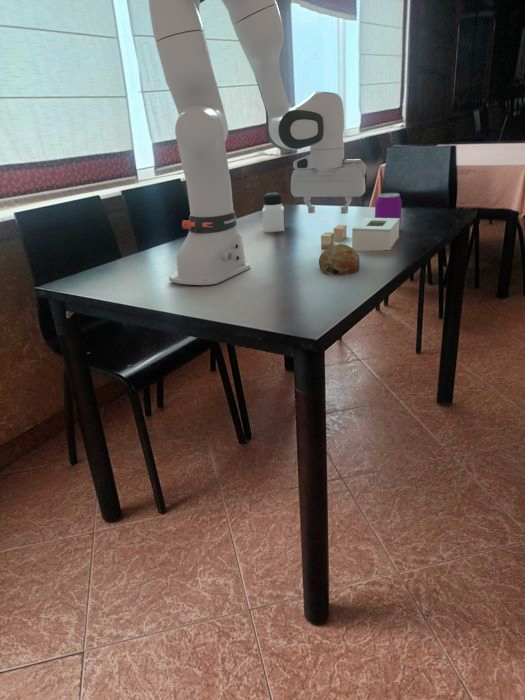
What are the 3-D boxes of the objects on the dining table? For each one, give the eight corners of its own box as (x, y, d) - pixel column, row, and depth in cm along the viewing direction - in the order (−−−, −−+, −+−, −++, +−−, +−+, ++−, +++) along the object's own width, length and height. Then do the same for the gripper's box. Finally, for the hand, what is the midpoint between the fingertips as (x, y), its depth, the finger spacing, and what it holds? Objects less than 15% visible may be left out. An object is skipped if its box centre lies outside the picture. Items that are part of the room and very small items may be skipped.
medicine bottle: (284, 231, 165) (283, 194, 160) (263, 232, 165) (261, 195, 160) (284, 226, 171) (282, 191, 166) (264, 228, 172) (261, 192, 166)
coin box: (389, 255, 131) (390, 229, 128) (352, 254, 135) (352, 228, 131) (398, 242, 142) (399, 218, 139) (364, 241, 146) (364, 217, 143)
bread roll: (317, 286, 121) (312, 264, 115) (325, 256, 127) (321, 233, 120) (357, 289, 118) (354, 265, 112) (364, 257, 123) (361, 234, 117)
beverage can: (399, 231, 154) (401, 191, 149) (400, 237, 147) (403, 196, 142) (373, 232, 155) (375, 193, 150) (374, 238, 149) (375, 197, 143)
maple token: (329, 252, 138) (329, 236, 136) (321, 251, 139) (321, 235, 137) (334, 247, 142) (334, 231, 141) (326, 247, 143) (326, 231, 142)
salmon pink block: (341, 244, 145) (341, 228, 143) (333, 243, 146) (333, 228, 144) (346, 239, 149) (346, 225, 147) (338, 239, 150) (338, 224, 148)
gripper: (369, 157, 129) (367, 211, 135) (295, 159, 137) (297, 210, 143) (363, 160, 124) (362, 216, 130) (287, 162, 132) (289, 214, 138)
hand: (327, 213), depth 136 cm, fingers open, 8 cm apart
